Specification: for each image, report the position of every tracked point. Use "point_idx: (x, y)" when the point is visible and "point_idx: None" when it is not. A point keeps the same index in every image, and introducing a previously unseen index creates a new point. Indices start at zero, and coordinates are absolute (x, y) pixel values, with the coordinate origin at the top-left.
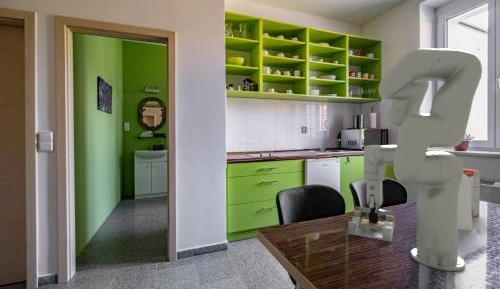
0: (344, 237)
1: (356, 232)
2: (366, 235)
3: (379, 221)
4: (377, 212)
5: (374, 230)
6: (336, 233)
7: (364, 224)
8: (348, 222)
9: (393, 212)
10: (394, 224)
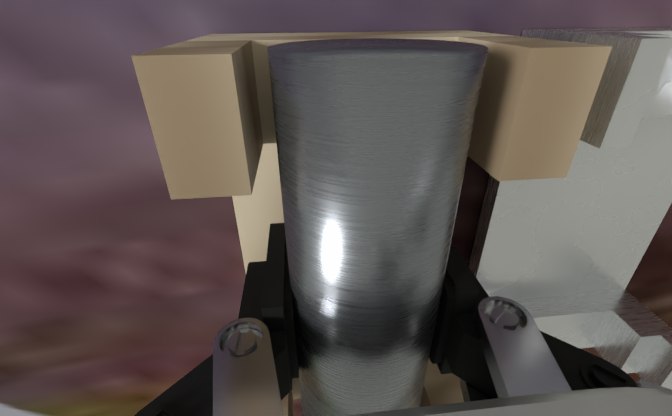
0: (658, 312)
1: (612, 287)
2: (657, 224)
3: (235, 206)
4: (438, 300)
5: (533, 197)
6: (597, 356)
7: None
8: (668, 386)
9: (458, 63)
10: (233, 35)
